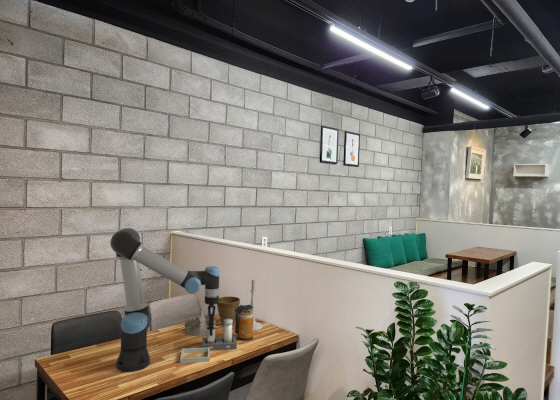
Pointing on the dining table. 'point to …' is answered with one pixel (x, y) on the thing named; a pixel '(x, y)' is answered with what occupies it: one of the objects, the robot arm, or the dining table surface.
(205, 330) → the grey jagged lump
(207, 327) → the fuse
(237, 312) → the canister
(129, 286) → the robot arm
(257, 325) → the candlestick
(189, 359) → the parts tray
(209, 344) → the block
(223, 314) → the plant pot
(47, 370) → the dining table surface
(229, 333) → the cylinder
